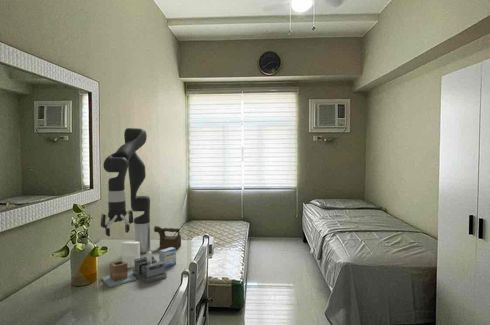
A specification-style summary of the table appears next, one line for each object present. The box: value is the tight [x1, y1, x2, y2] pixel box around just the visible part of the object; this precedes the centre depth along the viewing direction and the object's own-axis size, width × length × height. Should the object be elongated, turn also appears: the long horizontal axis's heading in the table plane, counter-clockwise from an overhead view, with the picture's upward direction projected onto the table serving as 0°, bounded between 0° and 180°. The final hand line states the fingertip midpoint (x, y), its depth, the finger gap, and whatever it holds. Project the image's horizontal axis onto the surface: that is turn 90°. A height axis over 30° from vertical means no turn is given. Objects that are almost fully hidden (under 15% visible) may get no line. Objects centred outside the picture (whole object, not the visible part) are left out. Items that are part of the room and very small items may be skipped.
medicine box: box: [158, 247, 177, 269], centre depth 168 cm, size 8×4×9 cm, turn 143°
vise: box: [132, 250, 168, 284], centre depth 155 cm, size 16×10×12 cm, turn 41°
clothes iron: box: [153, 225, 182, 251], centre depth 198 cm, size 8×16×13 cm, turn 83°
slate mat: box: [100, 270, 137, 288], centre depth 150 cm, size 12×12×1 cm
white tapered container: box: [121, 240, 141, 269], centre depth 169 cm, size 9×9×12 cm
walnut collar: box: [109, 259, 129, 281], centre depth 150 cm, size 6×6×7 cm
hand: (117, 234), depth 149 cm, fingers open, 8 cm apart
